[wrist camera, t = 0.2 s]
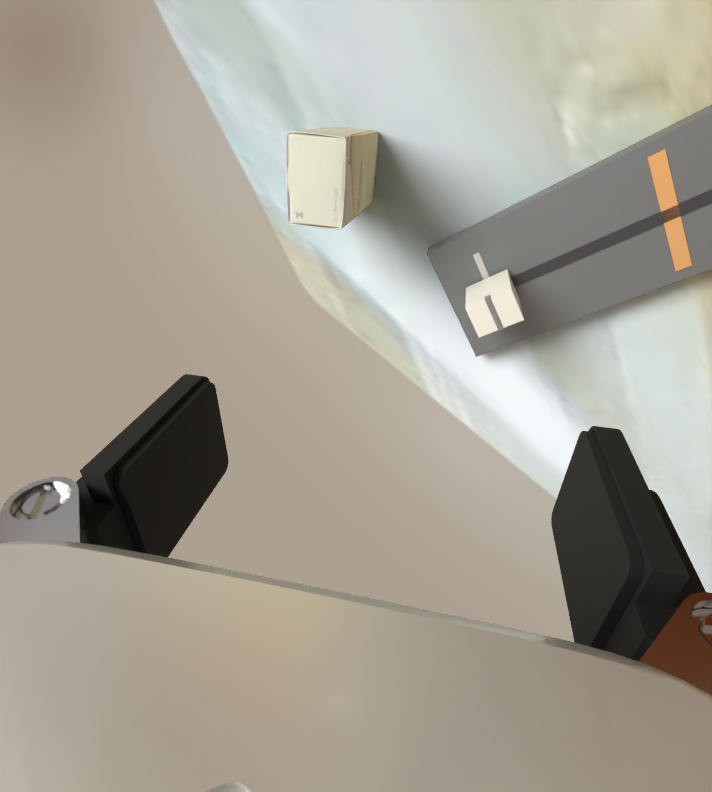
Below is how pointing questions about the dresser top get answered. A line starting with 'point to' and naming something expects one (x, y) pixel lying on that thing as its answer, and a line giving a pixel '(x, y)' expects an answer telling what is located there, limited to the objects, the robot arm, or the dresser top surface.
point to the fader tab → (493, 304)
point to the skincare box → (329, 175)
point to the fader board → (592, 235)
